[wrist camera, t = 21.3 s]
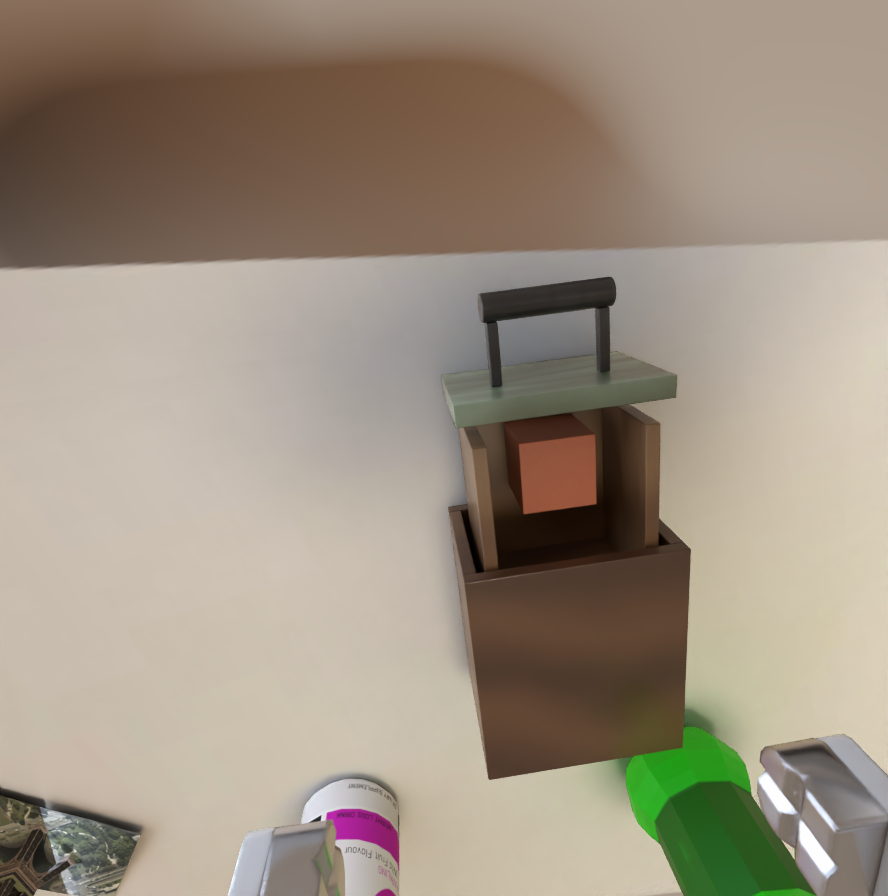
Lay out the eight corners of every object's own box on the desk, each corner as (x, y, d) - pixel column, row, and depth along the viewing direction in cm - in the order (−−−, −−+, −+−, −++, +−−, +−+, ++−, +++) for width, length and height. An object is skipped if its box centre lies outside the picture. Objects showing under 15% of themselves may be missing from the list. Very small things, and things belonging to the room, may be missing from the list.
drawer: (431, 294, 32) (440, 302, 25) (616, 270, 32) (679, 271, 25) (463, 559, 38) (479, 630, 31) (619, 536, 39) (671, 600, 31)
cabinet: (448, 506, 38) (464, 583, 29) (621, 481, 38) (691, 548, 29) (469, 671, 43) (488, 780, 33) (623, 646, 43) (683, 748, 34)
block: (503, 422, 34) (518, 444, 30) (571, 413, 34) (595, 433, 30) (508, 485, 35) (523, 514, 31) (573, 476, 36) (596, 504, 31)
